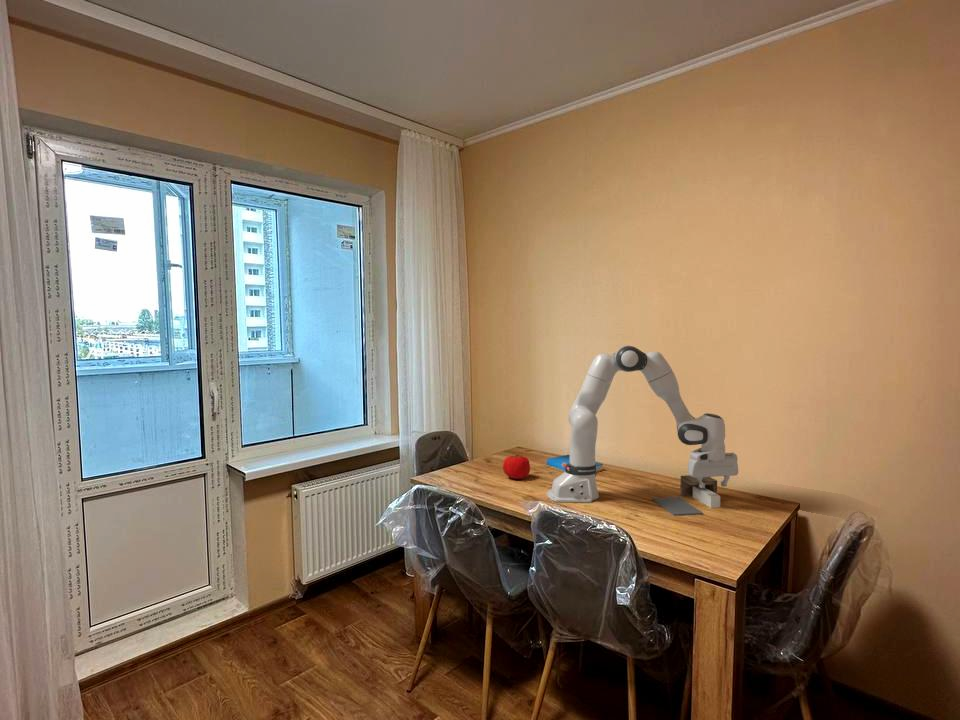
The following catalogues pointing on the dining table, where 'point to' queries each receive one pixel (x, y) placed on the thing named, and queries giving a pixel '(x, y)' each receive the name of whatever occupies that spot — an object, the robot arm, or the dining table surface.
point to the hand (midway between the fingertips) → (713, 486)
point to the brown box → (696, 484)
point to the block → (706, 496)
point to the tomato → (516, 466)
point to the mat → (677, 506)
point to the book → (560, 460)
